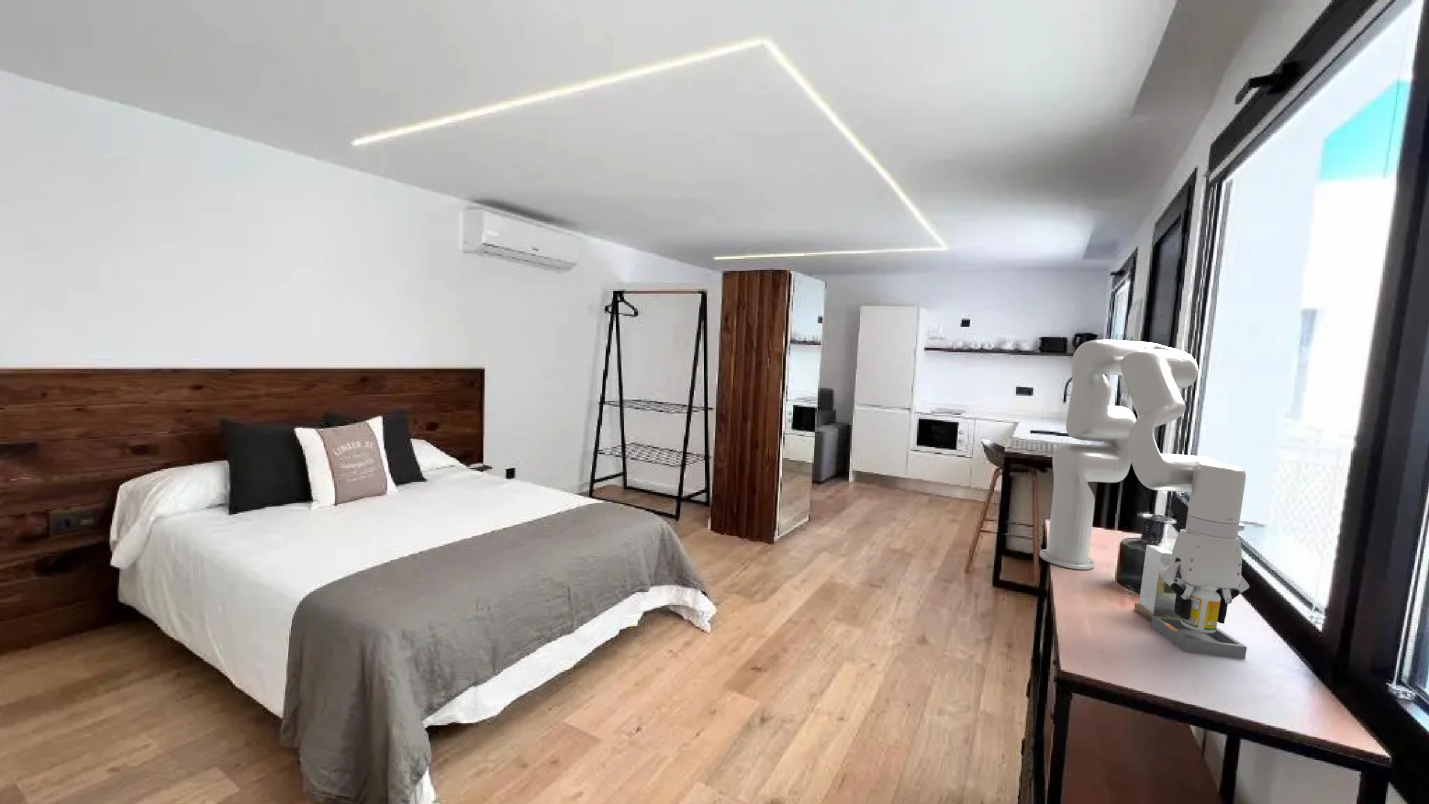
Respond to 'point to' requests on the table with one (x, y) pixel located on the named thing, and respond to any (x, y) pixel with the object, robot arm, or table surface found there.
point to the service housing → (1156, 585)
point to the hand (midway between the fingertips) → (1199, 617)
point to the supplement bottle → (1203, 609)
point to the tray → (1198, 638)
